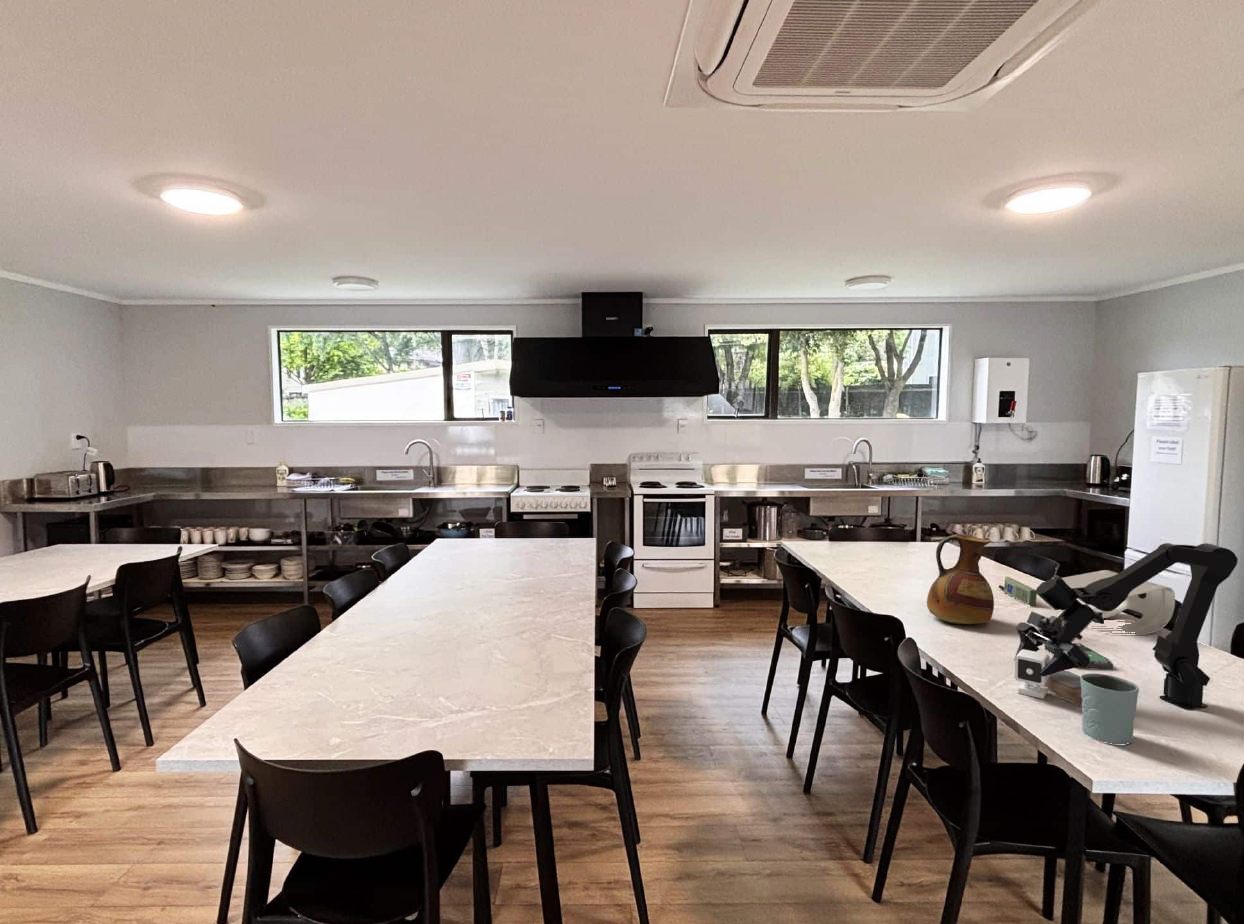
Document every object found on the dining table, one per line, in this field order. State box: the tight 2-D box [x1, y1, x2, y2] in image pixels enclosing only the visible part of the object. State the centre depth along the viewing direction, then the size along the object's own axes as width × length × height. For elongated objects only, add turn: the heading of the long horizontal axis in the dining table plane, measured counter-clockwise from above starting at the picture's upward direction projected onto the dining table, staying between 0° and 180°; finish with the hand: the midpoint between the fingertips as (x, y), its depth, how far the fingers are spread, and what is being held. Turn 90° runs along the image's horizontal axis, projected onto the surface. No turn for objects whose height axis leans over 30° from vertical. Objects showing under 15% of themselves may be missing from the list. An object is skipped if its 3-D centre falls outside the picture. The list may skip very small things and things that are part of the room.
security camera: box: [1014, 649, 1051, 699], centre depth 157 cm, size 6×7×10 cm
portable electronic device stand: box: [1051, 569, 1176, 636], centre depth 212 cm, size 26×24×16 cm
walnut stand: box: [1043, 670, 1082, 707], centre depth 158 cm, size 14×9×4 cm, turn 10°
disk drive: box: [1044, 642, 1114, 670], centre depth 181 cm, size 10×3×15 cm
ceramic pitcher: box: [926, 533, 995, 625], centre depth 215 cm, size 20×20×30 cm
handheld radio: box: [998, 576, 1038, 607], centre depth 244 cm, size 7×3×25 cm
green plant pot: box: [1080, 673, 1140, 744], centre depth 136 cm, size 10×10×12 cm
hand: (1028, 668), depth 157 cm, fingers closed on security camera, 8 cm apart
